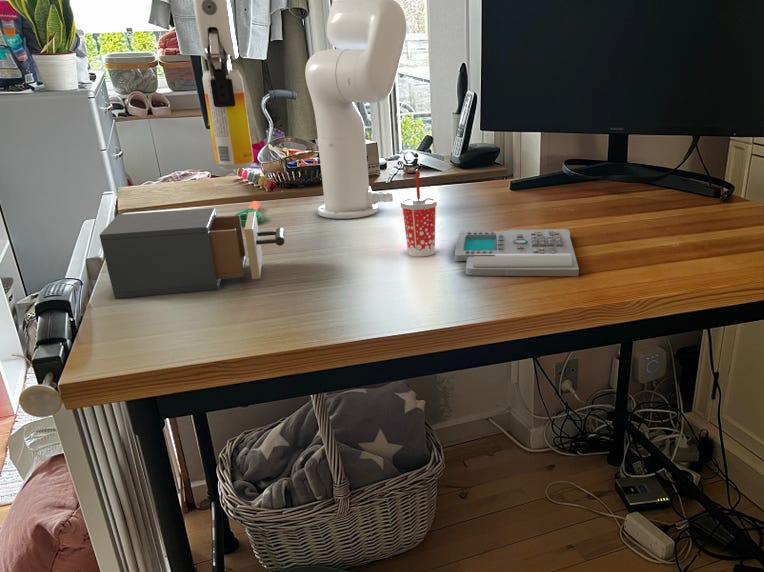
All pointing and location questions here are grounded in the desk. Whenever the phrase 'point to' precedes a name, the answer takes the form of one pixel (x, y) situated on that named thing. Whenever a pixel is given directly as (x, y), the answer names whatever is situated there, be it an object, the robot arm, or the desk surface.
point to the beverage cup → (419, 223)
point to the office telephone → (517, 253)
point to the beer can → (229, 126)
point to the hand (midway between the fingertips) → (226, 103)
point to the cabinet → (160, 253)
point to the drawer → (239, 245)
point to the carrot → (252, 208)
